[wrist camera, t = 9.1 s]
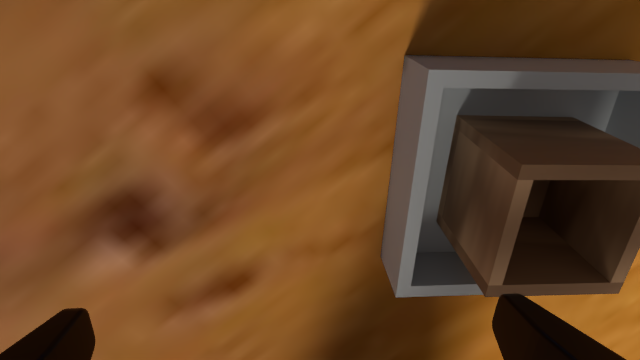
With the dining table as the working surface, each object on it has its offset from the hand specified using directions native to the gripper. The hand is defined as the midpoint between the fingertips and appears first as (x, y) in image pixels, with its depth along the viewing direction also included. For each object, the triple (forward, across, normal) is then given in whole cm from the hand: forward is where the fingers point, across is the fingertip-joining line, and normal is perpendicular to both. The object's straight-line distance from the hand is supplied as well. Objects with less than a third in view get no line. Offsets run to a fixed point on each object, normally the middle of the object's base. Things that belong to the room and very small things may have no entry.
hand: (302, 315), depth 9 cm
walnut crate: (+12, -11, +2) cm, 16 cm away
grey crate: (+12, -11, +2) cm, 17 cm away
